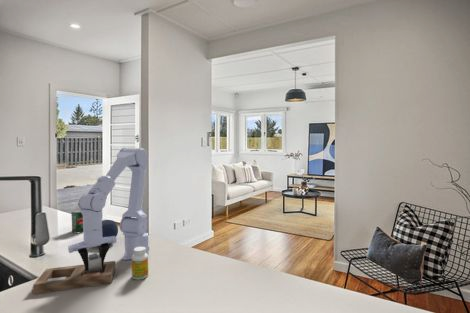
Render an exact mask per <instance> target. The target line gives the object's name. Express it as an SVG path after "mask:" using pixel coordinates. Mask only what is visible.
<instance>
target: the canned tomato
mask: <svg viewBox="0 0 470 313" xmlns="http://www.w3.org/2000/svg"><path fill="white" fill-rule="evenodd" d="M70 213H71V233H72V232H83V215H82V214H81V209H80V208H75V209H72V210H71V211H70Z"/></svg>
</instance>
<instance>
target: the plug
mask: <svg viewBox="0 0 470 313" xmlns="http://www.w3.org/2000/svg"><path fill="white" fill-rule="evenodd" d="M98 272H100V273H102V261H101V257H100V256H99V253H98V254H97V253H91V254H88V271H86V274H90V273H98Z"/></svg>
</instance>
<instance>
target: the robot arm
mask: <svg viewBox="0 0 470 313" xmlns="http://www.w3.org/2000/svg"><path fill="white" fill-rule="evenodd" d="M148 156H149V154H148V152H147V151H146V149H145V148H143V147H138V148H137V147H136V148H134V147H133V148H131V147H130V148H129V147H128V148H127V147H122V148H121V149H120V150H119V151H118V152H117V153H116V159H115V161H114V163H113V164H112V166H111V167H110V168H109V170H108V171H107V173H106V175H101V176H99V177H98V178H97V179H96V182H95V183H94V185H92V187H91V188H90V189H89V190H88V191H87V193H86V192H85V193H83V194H82V195H81V197H80V198H79V200H78V202H77V206H78V209H81V214H82V215H83V233H82V234H83V241H80V242H76V243H73V244H69V245H67V246H68V248H67V250H68V253H69V254H72V253H74V252H76V251H77V252H78V254H79V256H80V258H81V260H82V262H83V265H84V266H85V270H86V271H88V257H89V251H88V249H91V248H95V247H98V254H99V256H100V257H101V261H102V267H103V263H104V262H105V259H106V256H107V253H108V251H109V250H110V245H109V244H112V243H113V244H115V243H117V236H116V237H115V236H111V237H102V221H103V218H102V216H103V213H102V211H103V208H105V207H106V203H107V199H108V196H109V194H110V193H111V191H112V190H113V189H114V188H115V186H116V183H115V182H116V180H117V178H118V177H119V176H120V175H121V174H122V173H123V171H124V170H125V169H126V168H128V169H129V170H130V171H131V182H130V189H129V196H128V198H129V199H128V207H127V210H126V211H125V212H123V214H122V215H121V216H122V218H121V219H120V223H119V230H120V232H121V233H122V235H124V254H123V259H122V260H123V261H128V260H132V256H133V255H134V248H136V247H145V248H146V252H145V253H147V254H148V255H149V252H150V245H149V232H147V229H148V219H147V218H148V215H147V214H146V213H145V212H144V211H143V203H144V201H143V200H144V195H145V194H144V193H145V183H146V176H147V168H148V159H149V158H148Z"/></svg>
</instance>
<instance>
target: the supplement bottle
mask: <svg viewBox="0 0 470 313" xmlns="http://www.w3.org/2000/svg"><path fill="white" fill-rule="evenodd" d="M145 252H146V248H145V247H136V248H134V255H133V256H132V259H131V277H132V279H134V280H142V279H145V278H147V277H148V275H149V254H147V253H145Z"/></svg>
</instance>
